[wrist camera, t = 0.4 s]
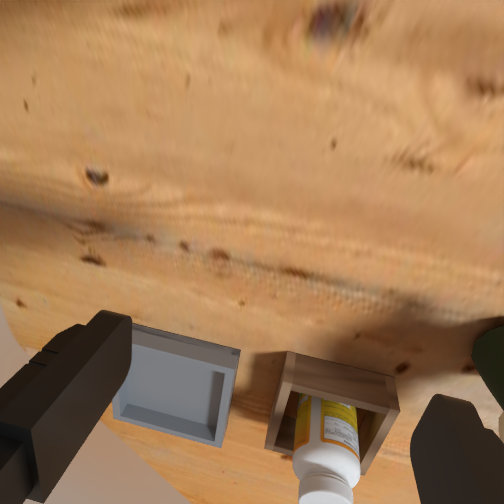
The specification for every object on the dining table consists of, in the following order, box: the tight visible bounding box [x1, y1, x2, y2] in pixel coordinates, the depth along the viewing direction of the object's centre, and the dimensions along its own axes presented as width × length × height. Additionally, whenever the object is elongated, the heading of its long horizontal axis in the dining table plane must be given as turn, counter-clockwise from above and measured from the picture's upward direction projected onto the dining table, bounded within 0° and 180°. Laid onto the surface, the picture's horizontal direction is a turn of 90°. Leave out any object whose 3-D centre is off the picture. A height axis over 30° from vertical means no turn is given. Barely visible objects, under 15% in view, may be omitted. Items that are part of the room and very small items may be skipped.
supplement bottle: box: [293, 393, 360, 504], centre depth 31 cm, size 5×5×10 cm
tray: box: [112, 323, 241, 448], centre depth 37 cm, size 12×12×2 cm
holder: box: [264, 351, 400, 476], centre depth 34 cm, size 10×10×4 cm
